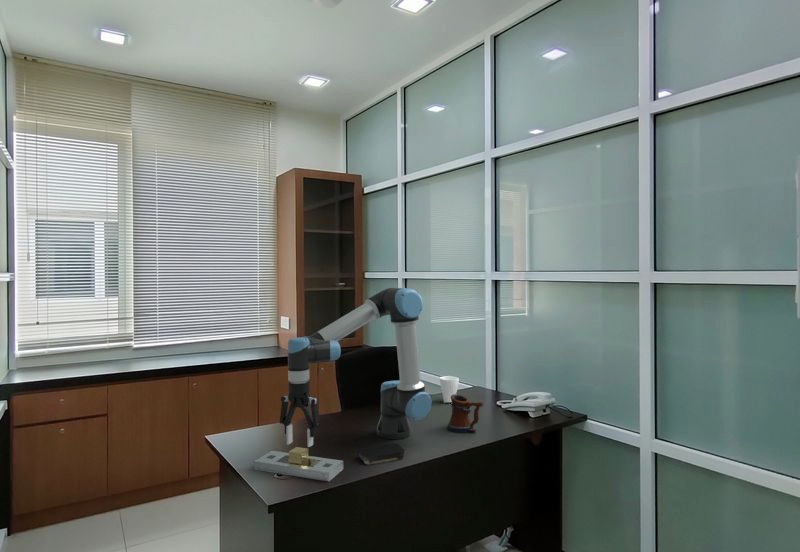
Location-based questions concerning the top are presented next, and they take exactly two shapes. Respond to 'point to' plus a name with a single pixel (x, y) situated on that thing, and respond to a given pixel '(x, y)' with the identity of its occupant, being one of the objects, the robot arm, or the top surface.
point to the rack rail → (299, 466)
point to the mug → (462, 414)
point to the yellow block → (298, 456)
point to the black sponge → (381, 454)
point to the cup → (448, 387)
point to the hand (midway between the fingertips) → (299, 444)
